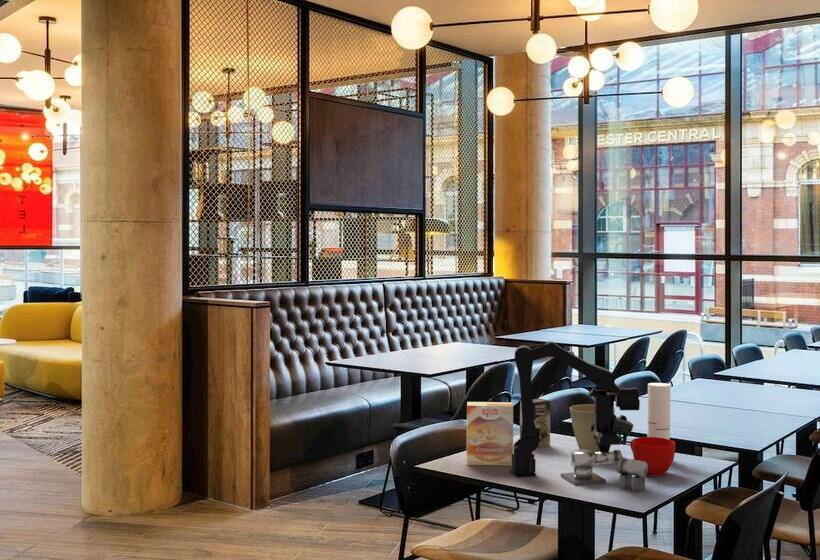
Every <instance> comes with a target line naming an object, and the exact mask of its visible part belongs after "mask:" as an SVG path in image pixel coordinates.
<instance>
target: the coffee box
mask: <svg viewBox="0 0 820 560" xmlns="http://www.w3.org/2000/svg"><path fill="white" fill-rule="evenodd" d="M519 403H520V405H519V435H520V434H521V425H522V407H521V399H520V401H519ZM533 414H534V421H535V425H538V424H540V436H541V442H540V441H539V446H538V448H541V447H544V448H545V447H548V446H549V447H550V446H551V400H549V399H544V398H533Z"/></svg>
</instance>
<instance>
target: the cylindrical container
mask: <svg viewBox="0 0 820 560" xmlns="http://www.w3.org/2000/svg"><path fill="white" fill-rule="evenodd" d="M646 428H647V432H646V433H647V434H646V435H647V436H646V437H658V438H665V439H669V440H671V439H670V438H671V384H669V383H664V382H649V383H647V426H646Z"/></svg>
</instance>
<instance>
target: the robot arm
mask: <svg viewBox="0 0 820 560" xmlns="http://www.w3.org/2000/svg"><path fill="white" fill-rule="evenodd" d="M546 357H552V358H555V360H558V361H560V362H561V363H563V364H565V365H566V366H568V367H570V368H571V369H573V370H575V371H577V372H579V373H580V374H582V375H584V376H585V377H586V378H587V379H588V380H589V381H591V383H592V384H594V385H595V386H596V387H598V388H599V389H596V387H592V389H591V390H589V392H587V393H588V396H589V397H594V405H595V412H594V416H595V421H592V422H591V423H590V424H589V430H590V431H591V432H593V430H595V432H596V435H594V436H593V437H594V439H595V442H596V444H597V447H598V449H599V452H609V451H610V448H611V446H619V445H622V443H621V442H622V441H621V440H622V438H621V436H620V435H619V434H618V433H617V432H618V431H619V432H622V433H625V434H626V435H629V436H631V433H632V431H633V429H634V426H635V425H634V424H633V423H632V422H631V421H629V420H628V419H627V418H628V417H627V416H626V415H624V414H620V415H619V416H617V415H616V414H615V412H614V408H619V411H639V410H640V403H641V401H640V399H639V398H640V397H639V389H638V387H631V388H624V387H623V388H622V387H621V388H620V386H619V385H618V384H617V383H616V382H615V376H614V374H613V373H612V372H611V370H609V369H607V368H606V367H603V366H600V365H596V364H593V363H590V362H588V361H586V360H584V359H582V358H580V357H579V356H578V355H576V354H574V353H572V352H570V351H568V350H567V349H565V348H563V347H562V346H559V344H557V343H555V341H547V342H545V343H540V344H534V345H530V346H528V345H525V344H523V345H520V346H517V348H516V349H515V351H514V361H515V365H516V369H517V372H518V378H519V389H520V400H521V407H522V425H521V434H520V433H519V439H517V440H516V441H515V442H514V443H513V453H512V466H511V469H510V470H509V473H511V474H512V475H513V476H515V477H533V476H534V477H535V476H537V473H536V458H535V454H533V452H535V451H536V450H537V449H539V447H538V446H539V441H540V442H541V436H540V424H538V425H535V421H534V414H533V399H534V398H533V387H532V372H533V365H534V361H537V360H540V359H544V358H546ZM607 390H608V391H610V392H607Z"/></svg>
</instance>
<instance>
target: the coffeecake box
mask: <svg viewBox="0 0 820 560" xmlns="http://www.w3.org/2000/svg"><path fill="white" fill-rule="evenodd" d="M466 403H467V404H466V465H467V466H511V467H512V453H514V451H513V445H514V404H513V402H510V401H509V402H504V401H503V402H501V401H498V402H497V401H496V402H495V401H494V402H493V401H467V402H466Z"/></svg>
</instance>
